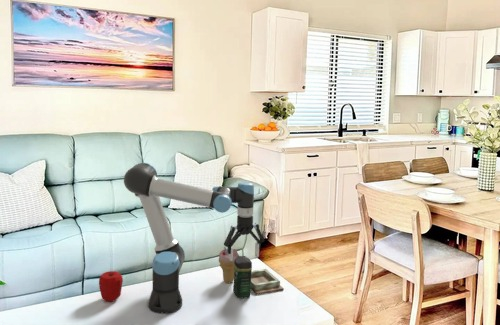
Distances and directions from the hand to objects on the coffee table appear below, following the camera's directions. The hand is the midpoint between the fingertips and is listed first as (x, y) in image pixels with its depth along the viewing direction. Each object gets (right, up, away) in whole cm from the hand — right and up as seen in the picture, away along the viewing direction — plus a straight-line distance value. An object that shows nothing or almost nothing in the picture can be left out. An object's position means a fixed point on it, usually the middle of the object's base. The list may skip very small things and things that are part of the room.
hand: (243, 258), depth 205 cm
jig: (+8, -17, +16) cm, 24 cm away
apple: (-61, -18, -7) cm, 64 cm away
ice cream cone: (-8, -16, +16) cm, 24 cm away
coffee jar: (-1, -19, +3) cm, 19 cm away
